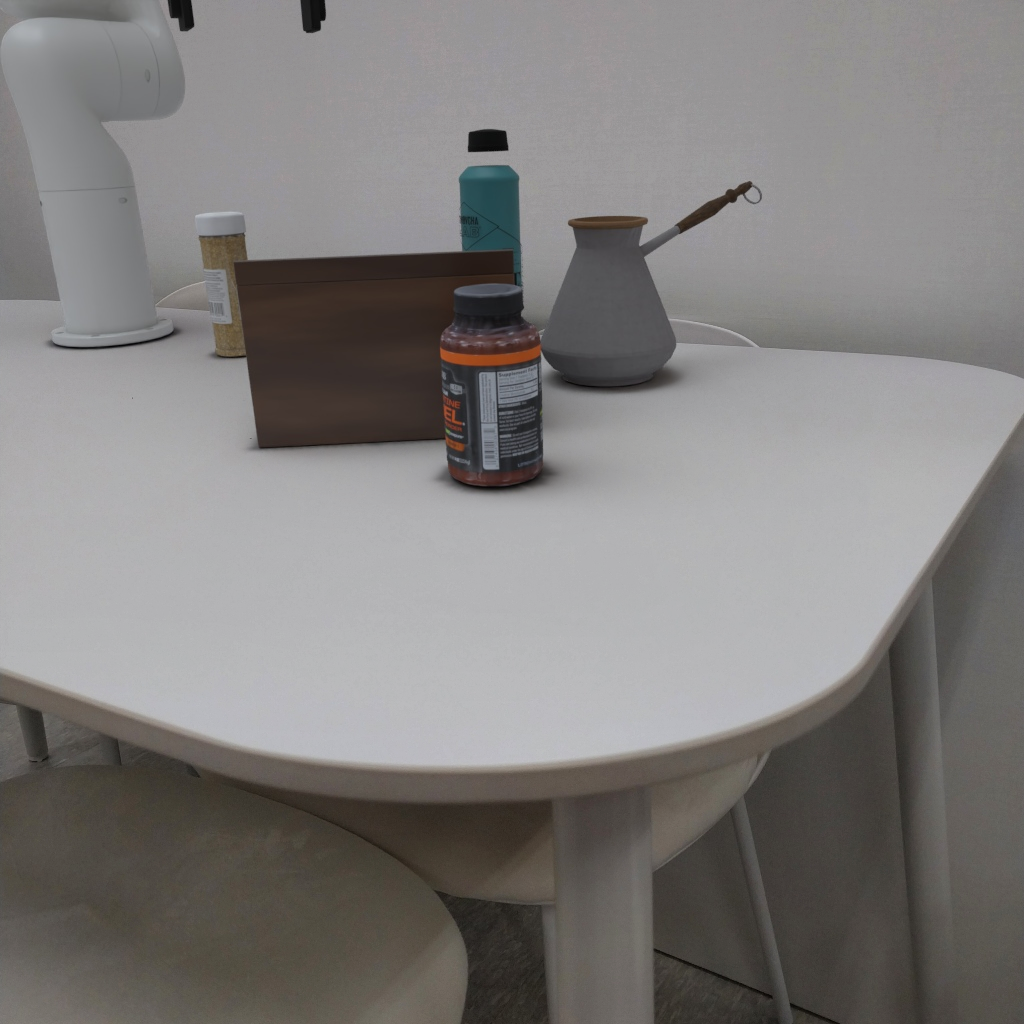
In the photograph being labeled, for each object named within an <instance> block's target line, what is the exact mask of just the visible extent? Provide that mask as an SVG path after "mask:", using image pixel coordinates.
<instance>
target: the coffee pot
mask: <svg viewBox="0 0 1024 1024" xmlns="http://www.w3.org/2000/svg"><path fill="white" fill-rule="evenodd" d="M751 188H754V189H755V190H756V191H757V192H758V194H759V199H758V201H756V202H755V201H752V200H750V199H749V198H748V197H747V195H746V193H747V192H749V191H750V190H751ZM739 196H743V198H744V200H745V201H746V202H747V203H749V204H751V205H757V204H759V203H760V202H761V201H762V200H763V194H762V191H761V189H760V188H759V187H758V186H757V185H756V184H753V181H751V180H748V181H745V182H743V183H740V184H738V186H737V187H735V188H734V189H732V188H728V189H727V190H726V191H725V194H724V195H723V194H722V195H721V196H719V197H716V198H714V199H712V200H709V201H707V202H705V203H703V205H701V206H699V207H698V208H697V209H695V210H694V211H693V212H691V213H690V214H688V215H687V216H685V217H684V218H683V219H681V220H680V221H678V222H677V223H676V224H674V225H673V226H672V227H671V228H668V229H667V230H665V231H663V232H661V233H660V234H658V235H656V236H654V237H653V238H652V239H650V240H648V241H647V242H645V243H643V244H642V245H640V240H641V236H642V232H643V228H644V226H645V225H647V224H648V222H649V219H648V217H644V216H635V215H598V216H585V217H577V218H572V219H568V220H567V225H568V227H571V228H572V232H573V235H574V240H575V245H576V246H575V250H574V252H573V255H572V257H571V260H570V263H569V265H568V268H567V270H566V272H565V275H564V278H563V281H562V283H561V286H560V288H559V290H558V294H557V296H556V298H555V301H554V304H553V307H552V309H551V312H550V314H549V318H547V319H548V320H547V322H546V324H545V327H544V330H543V332H542V334H541V336H540V342H541V355H542V356H543V358H544V360H545V361H546V362H547V363H548V364H549V366H550V367H551V368H552V369H553V370H555V371H557V372H559V373H560V374H562V375H561V377H562V379H563V380H564V381H566V382H569V383H572V384H575V385H582V386H588V387H589V386H590V387H622V386H623V387H624V386H629V385H630V386H632V385H637V384H640V383H645V382H646V381H649V380H651V379H652V378H654V373H655V372H657V371H659V370H660V369H662V368H663V367H664V366H665V365H666V364H667V363H668V362H669V361H670V360H671V358H672V357H673V354H674V353H675V351H676V348H677V339H676V338H677V337H676V335H675V332H674V330H673V327H672V325H671V322H670V319H669V317H668V315H667V312H666V309H665V307H664V305H663V302H662V300H661V297H660V294H659V292H658V289H657V286H656V284H655V282H654V279H653V276H652V273H651V271H650V269H649V267H648V264H647V262H646V259H645V257H647V256H648V255H650V254H651V253H652V252H653V253H654V252H655V251H656V250H657V249H659V248H660V247H661V246H663V245H664V244H666V243H668V242H669V241H671V240H673V239H674V238H675V237H677V236H679V235H681V234H683V233H685V232H687V231H688V230H690V229H692V228H694V227H696V226H698V225H700V224H701V223H703V222H705V221H707V220H708V219H711V218H713V217H714V216H716V215H717V214H718V213H719V212H721V210H723V209H724V208H725V207H726V206H727V205H728V204H734V203H736V202H737V201H738V197H739Z"/></svg>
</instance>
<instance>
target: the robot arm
mask: <svg viewBox="0 0 1024 1024" xmlns="http://www.w3.org/2000/svg"><path fill="white" fill-rule="evenodd" d="M299 1H300V3H299V4H300V13H301V14H300V15H301V23H302V30H303V32H305V34H314V33H317V32H320V31H321V30H322V22H325V21H326V19H327V9H326V0H299ZM167 6H168V7H167V8H168V13H169V17H170V19H177V20H178V27H179V28H178V29H179V32H189V31H191V30H192V29H194V28H195V18H194V11H193V10H194V9H193V3H192V0H167ZM0 11H2V12H3V13H5V14H6V15H8V16H10V17H12V18H16V19H19V20H22V21H19V22H17V23H15V24H13V25H12V26H11V27H9V28H8V30H7V31H6V32H5V33H4V35H3V37H2V40H1V43H0V65H1V69H2V73H3V77H4V80H5V83H6V87H7V88H8V89H7V90H8V91H9V94H10V96H11V98H12V99H11V100H12V102H13V105H14V107H15V110H16V112H17V115H18V118H19V121H20V124H21V127H22V131H23V134H24V137H25V141H26V144H27V148H28V152H29V156H30V161H31V166H32V170H33V174H34V180H35V184H36V189H37V192H38V198H39V203H40V208H41V213H42V218H43V223H44V228H45V232H46V237H47V243H48V248H49V252H50V256H51V257H50V258H51V261H52V266H53V267H52V268H53V271H54V277H55V281H56V286H57V287H56V288H57V292H58V297H59V301H60V306H61V311H62V317H63V321H64V325H62V326H59V327H56V328H55V329H53V330H52V331H51V333H50V335H51V340H52V343H54V344H55V345H58V346H62V347H70V348H71V347H73V348H74V347H75V348H94V347H109V346H119V345H120V346H121V345H129V344H135V343H140V342H146V341H151V340H155V339H159V338H162V337H165V336H168V335H170V334H172V333H173V331H174V322H173V320H172V319H170V318H168V317H164V316H158V315H157V309H156V304H155V303H156V302H155V295H154V291H153V285H152V279H151V273H150V267H149V261H148V255H147V248H146V243H145V237H144V231H143V226H142V225H143V224H142V218H141V212H140V208H139V202H138V195H137V189H136V184H135V178H134V172H133V169H132V166H131V162H130V161H129V159H128V157H127V155H126V154H125V152H124V150H123V149H122V148H121V147H120V145H119V144H118V142H117V141H116V140H115V139H114V137H112V135H111V134H110V133H109V132H108V130H107V129H106V127H105V126H104V125H103V123H109V122H133V121H135V122H137V121H138V122H139V121H157V120H164V119H167V118H170V117H171V116H173V115H175V114H176V113H177V112H178V111H179V110H180V109H181V107H182V105H183V103H184V99H185V96H186V95H185V94H186V77H185V71H184V65H183V62H182V59H181V55H180V52H179V48H178V46H177V42H176V40H175V39H174V36H173V33H172V30H171V28H170V26H169V23H168V20H167V18H166V16H165V13H164V10H163V7H162V5H161V3H160V0H0Z"/></svg>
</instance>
